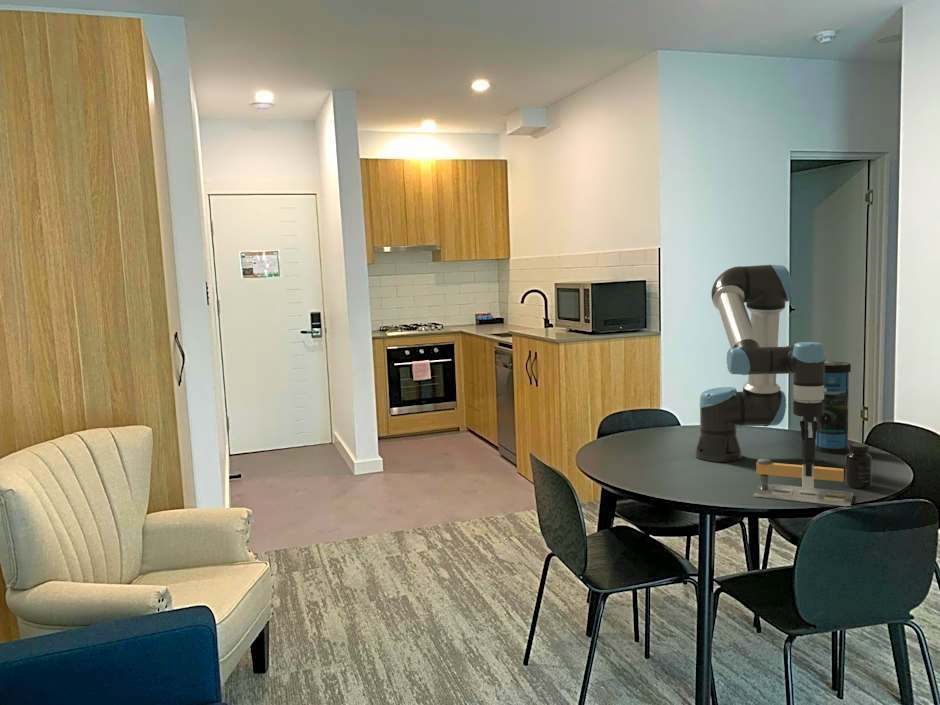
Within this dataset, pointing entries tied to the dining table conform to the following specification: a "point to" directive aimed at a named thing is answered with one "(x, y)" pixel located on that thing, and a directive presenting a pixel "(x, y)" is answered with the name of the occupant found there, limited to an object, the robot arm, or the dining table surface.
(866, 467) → the supplement bottle
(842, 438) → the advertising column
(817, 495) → the tray
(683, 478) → the dining table surface
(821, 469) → the swing arm
